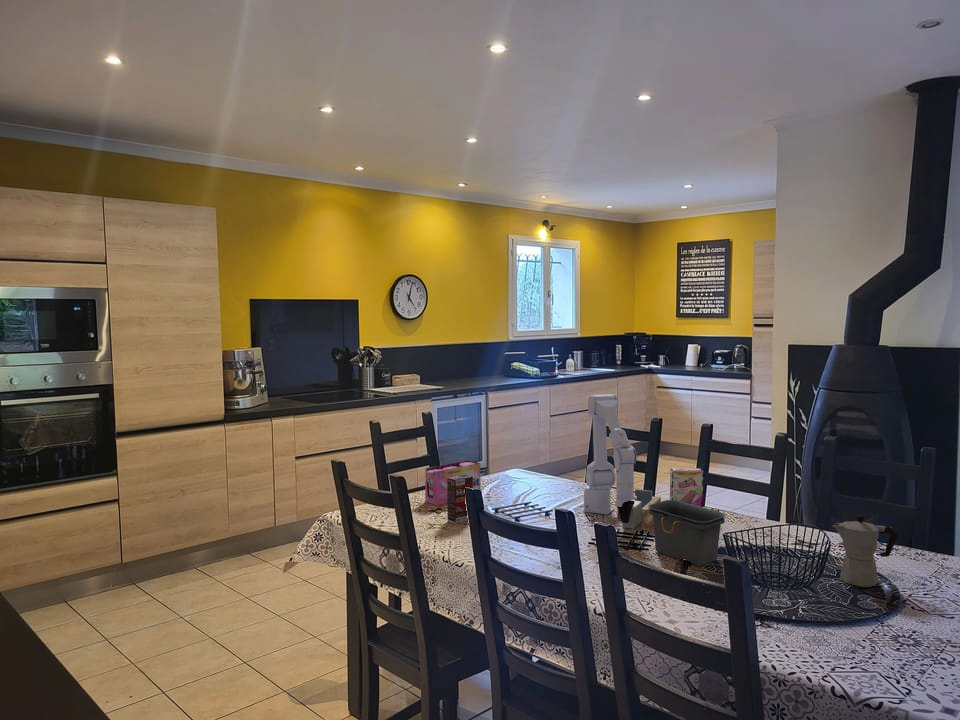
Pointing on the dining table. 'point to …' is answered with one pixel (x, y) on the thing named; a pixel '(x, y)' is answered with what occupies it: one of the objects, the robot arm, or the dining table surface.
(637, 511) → the boxed book
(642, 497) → the bookend
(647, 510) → the shelf wall
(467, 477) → the supplement box
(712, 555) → the storage bin
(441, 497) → the gum box
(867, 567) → the coffeepot
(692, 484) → the candy bar box
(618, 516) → the walnut block
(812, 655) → the dining table surface
